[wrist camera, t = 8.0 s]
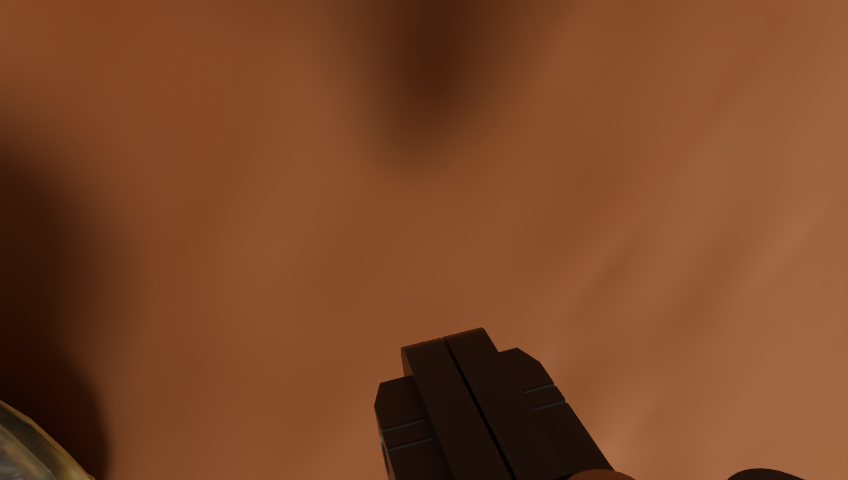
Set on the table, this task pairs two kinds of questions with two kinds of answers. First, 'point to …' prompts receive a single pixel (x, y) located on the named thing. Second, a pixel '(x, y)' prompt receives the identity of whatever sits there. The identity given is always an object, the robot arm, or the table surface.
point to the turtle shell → (32, 451)
